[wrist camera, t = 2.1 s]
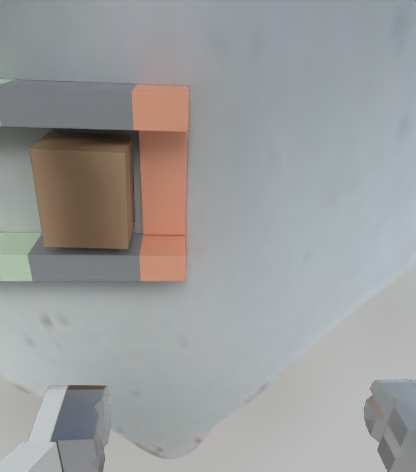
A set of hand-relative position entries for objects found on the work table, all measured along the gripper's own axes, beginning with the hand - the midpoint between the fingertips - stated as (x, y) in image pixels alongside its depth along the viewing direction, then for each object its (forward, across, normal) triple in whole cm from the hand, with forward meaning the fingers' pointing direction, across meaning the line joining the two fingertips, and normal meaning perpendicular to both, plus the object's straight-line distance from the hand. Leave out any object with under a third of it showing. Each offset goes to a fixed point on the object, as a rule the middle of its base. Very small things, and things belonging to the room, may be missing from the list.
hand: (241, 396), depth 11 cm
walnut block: (+18, +7, 0) cm, 19 cm away
